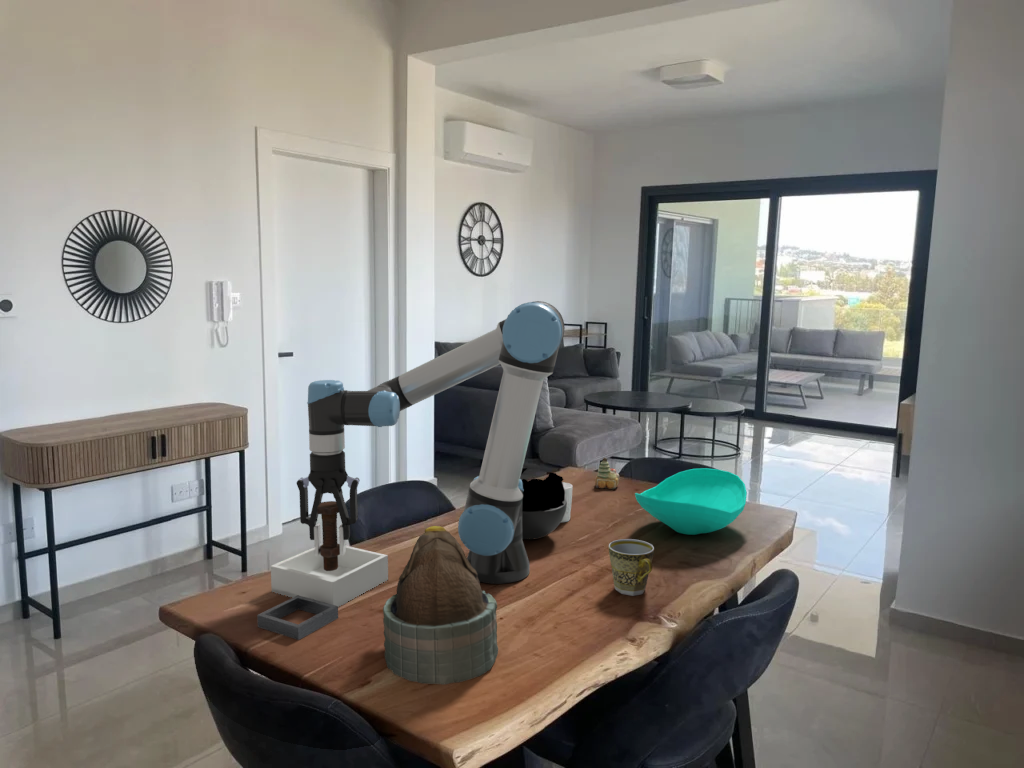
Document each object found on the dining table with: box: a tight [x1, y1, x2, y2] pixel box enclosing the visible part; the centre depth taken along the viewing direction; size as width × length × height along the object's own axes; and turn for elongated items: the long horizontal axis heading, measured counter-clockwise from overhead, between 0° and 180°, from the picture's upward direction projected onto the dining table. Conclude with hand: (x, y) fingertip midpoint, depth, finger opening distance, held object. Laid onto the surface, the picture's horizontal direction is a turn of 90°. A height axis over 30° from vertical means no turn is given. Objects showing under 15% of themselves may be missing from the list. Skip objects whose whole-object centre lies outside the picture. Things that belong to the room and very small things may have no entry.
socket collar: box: [256, 595, 339, 641], centre depth 153 cm, size 11×11×2 cm
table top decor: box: [634, 467, 748, 536], centre depth 209 cm, size 40×28×13 cm
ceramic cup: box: [608, 538, 655, 597], centre depth 168 cm, size 13×10×10 cm
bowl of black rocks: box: [521, 467, 567, 540], centre depth 203 cm, size 20×20×19 cm
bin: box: [270, 543, 389, 608], centre depth 171 cm, size 18×18×6 cm
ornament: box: [594, 457, 620, 490], centre depth 253 cm, size 8×6×10 cm
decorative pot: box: [382, 525, 499, 685], centre depth 141 cm, size 23×25×22 cm
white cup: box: [560, 481, 573, 524], centre depth 219 cm, size 8×8×10 cm
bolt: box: [317, 500, 340, 571], centre depth 170 cm, size 6×5×15 cm
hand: (330, 553), depth 170 cm, fingers closed on bolt, 5 cm apart
